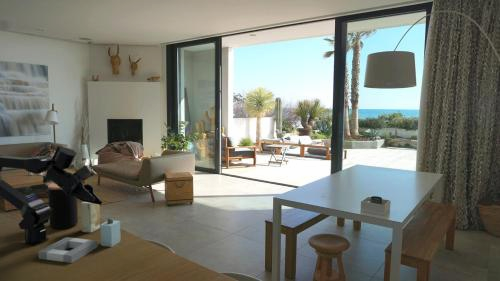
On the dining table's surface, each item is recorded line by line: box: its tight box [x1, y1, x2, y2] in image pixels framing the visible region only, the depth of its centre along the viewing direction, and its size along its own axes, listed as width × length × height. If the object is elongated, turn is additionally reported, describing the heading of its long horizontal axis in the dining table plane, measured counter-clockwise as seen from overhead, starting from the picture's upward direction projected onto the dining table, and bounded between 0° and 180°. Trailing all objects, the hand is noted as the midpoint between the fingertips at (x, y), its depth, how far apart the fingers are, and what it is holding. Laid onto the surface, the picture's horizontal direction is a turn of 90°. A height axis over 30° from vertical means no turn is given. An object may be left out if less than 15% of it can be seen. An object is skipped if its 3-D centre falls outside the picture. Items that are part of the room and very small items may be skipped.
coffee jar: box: [47, 182, 79, 231], centre depth 148 cm, size 11×11×18 cm
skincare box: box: [80, 201, 101, 233], centre depth 144 cm, size 6×4×12 cm
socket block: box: [37, 236, 98, 264], centre depth 123 cm, size 13×13×2 cm
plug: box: [99, 217, 121, 248], centre depth 131 cm, size 4×6×10 cm
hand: (98, 201), depth 126 cm, fingers open, 9 cm apart
